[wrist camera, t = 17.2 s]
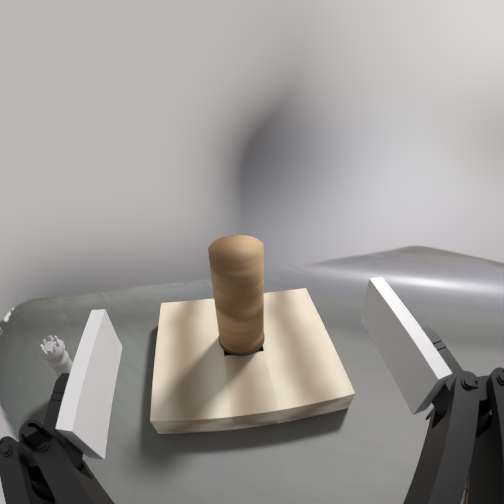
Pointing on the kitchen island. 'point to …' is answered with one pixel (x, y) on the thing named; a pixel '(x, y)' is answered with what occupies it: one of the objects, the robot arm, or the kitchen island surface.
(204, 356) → the birch board
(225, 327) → the oak leg
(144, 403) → the kitchen island surface
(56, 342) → the rook chess piece
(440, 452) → the robot arm
